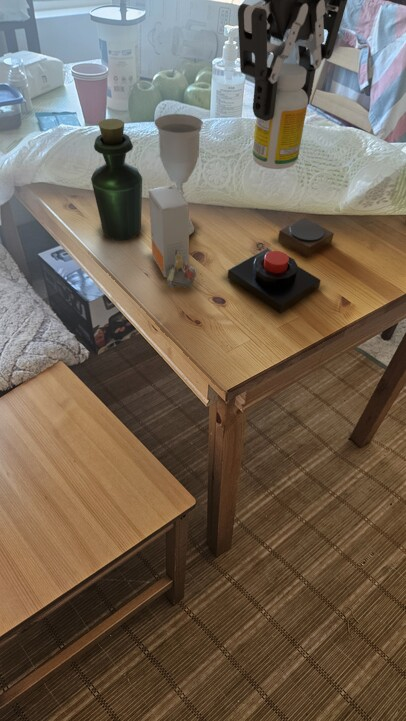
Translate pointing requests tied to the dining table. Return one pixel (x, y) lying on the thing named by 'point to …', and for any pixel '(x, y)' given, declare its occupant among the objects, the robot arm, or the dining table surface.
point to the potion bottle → (117, 183)
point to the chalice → (179, 147)
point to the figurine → (180, 273)
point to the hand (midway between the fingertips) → (281, 110)
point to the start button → (276, 262)
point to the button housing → (273, 282)
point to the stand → (305, 237)
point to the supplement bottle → (283, 122)
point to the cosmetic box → (168, 226)
